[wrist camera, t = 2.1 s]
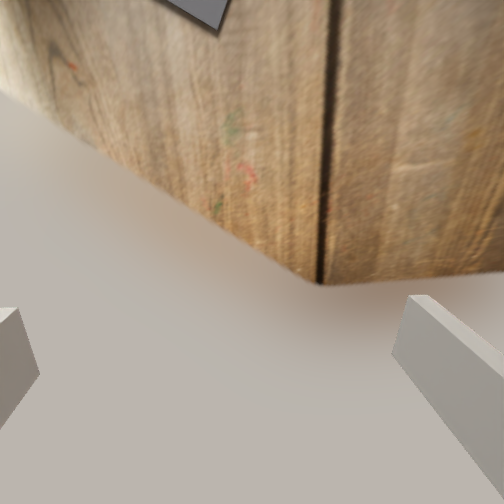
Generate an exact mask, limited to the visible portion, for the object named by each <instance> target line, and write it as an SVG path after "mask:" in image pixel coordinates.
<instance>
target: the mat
mask: <svg viewBox="0 0 504 504" xmlns="http://www.w3.org/2000/svg"><path fill="white" fill-rule="evenodd" d="M167 1H169V2H170V3H172V4H174V5H175V6H177V7H179V8H180V9H182V10H184V11H185V12H187V13H189V14H190V15H192V16H194V17H195V18H197V19H199V20H200V21H202V22H204V23H205V24H207V25H209V26H210V27H212V28H214V29H215V30H217V31H218V28H219V25H220V22H221V19H222V17H223V14H224V11H225V8H226V5H227V2H228V0H167Z"/></svg>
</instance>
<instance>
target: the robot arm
mask: <svg viewBox="0 0 504 504" xmlns="http://www.w3.org/2000/svg"><path fill="white" fill-rule="evenodd" d="M392 355H393V357H394V358H395V359H396V361H397V362H398V363H399V365H400V366H401V367H402V368H403V370H404V371H405V372H406V373H407V375H408V376H409V377H410V379H411V380H412V381H413V383H414V384H415V385H416V386H417V388H418V389H419V390H420V392H421V393H422V394H423V395H424V397H425V398H426V399H427V401H428V402H429V403H430V405H431V406H432V407H433V408H434V410H435V411H436V412H437V414H438V415H439V416H440V417H441V419H442V420H443V421H444V423H445V424H446V425H447V426H448V428H449V429H450V430H451V432H452V433H453V434H454V435H455V437H456V438H457V439H458V441H459V442H460V443H461V444H462V446H463V447H464V448H465V450H466V451H467V452H468V454H469V455H470V456H471V457H472V459H473V460H474V461H475V463H476V464H477V465H478V466H479V468H480V469H481V470H482V472H483V473H484V474H485V475H486V477H487V478H488V479H489V481H490V482H491V483H492V484H493V486H494V487H495V488H496V490H497V491H498V492H499V494H500V495H501V496H502V497H503V499H504V354H502V353H501V352H500V351H499V350H497V349H496V348H494V347H493V346H492V345H491V344H490V343H488V342H487V341H486V340H485V339H483V338H482V337H481V336H480V335H478V334H477V333H476V332H475V331H473V330H472V329H471V328H469V327H468V326H467V325H466V324H464V323H463V322H462V321H461V320H459V319H458V318H457V317H455V316H454V315H453V314H452V313H450V312H449V311H448V310H446V309H445V308H444V307H443V306H441V305H440V304H439V303H438V302H436V301H435V300H434V299H433V298H431V297H430V296H429V295H408V299H407V302H406V306H405V309H404V312H403V316H402V319H401V323H400V326H399V330H398V333H397V337H396V341H395V344H394V348H393V351H392ZM39 375H40V373H39V370H38V367H37V364H36V361H35V358H34V354H33V351H32V349H31V345H30V342H29V339H28V336H27V333H26V331H25V327H24V324H23V321H22V318H21V315H20V312H19V309H18V307H17V308H16V307H14V308H0V429H1V427H2V426H3V425H4V424H5V422H6V421H7V419H8V418H9V416H10V415H11V414H12V412H13V411H14V410H15V408H16V407H17V405H18V404H19V403H20V401H21V400H22V398H23V397H24V396H25V394H26V393H27V391H28V390H29V389H30V387H31V386H32V384H33V383H34V381H35V380H36V379H37V377H38V376H39Z"/></svg>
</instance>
